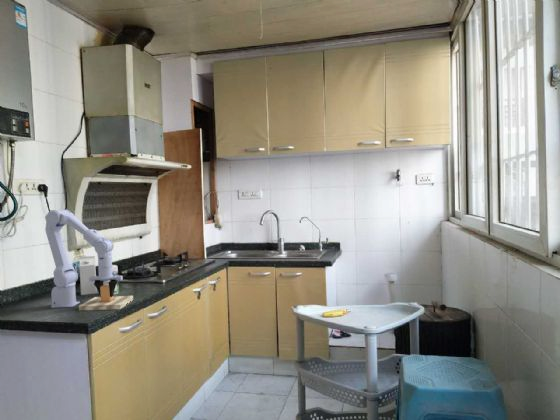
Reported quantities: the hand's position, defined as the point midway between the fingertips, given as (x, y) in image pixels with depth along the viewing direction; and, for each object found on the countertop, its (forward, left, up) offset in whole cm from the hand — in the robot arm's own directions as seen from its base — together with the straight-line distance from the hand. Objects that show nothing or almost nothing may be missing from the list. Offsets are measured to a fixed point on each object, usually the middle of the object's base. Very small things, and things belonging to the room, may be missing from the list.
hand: (106, 296), depth 187 cm
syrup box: (-7, +22, -4) cm, 23 cm away
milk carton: (-20, +26, -4) cm, 33 cm away
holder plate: (0, 0, -4) cm, 4 cm away
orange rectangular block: (0, 0, -3) cm, 3 cm away
